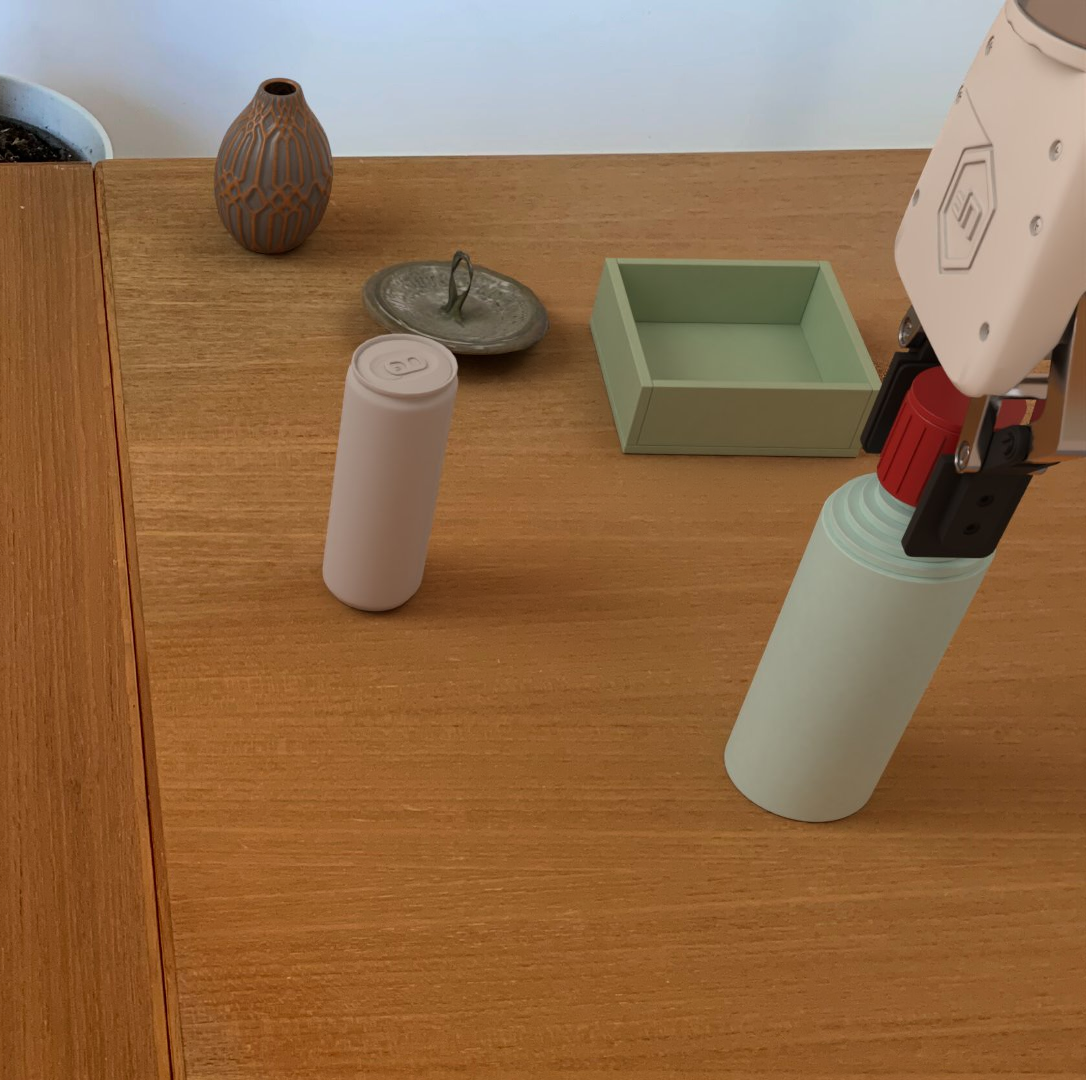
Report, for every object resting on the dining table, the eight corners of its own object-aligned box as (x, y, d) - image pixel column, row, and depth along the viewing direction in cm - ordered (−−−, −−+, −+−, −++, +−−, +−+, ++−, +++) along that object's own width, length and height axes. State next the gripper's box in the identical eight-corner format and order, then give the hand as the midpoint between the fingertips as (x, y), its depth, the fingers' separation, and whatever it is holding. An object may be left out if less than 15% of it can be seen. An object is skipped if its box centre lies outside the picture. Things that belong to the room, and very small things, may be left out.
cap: (999, 515, 61) (1042, 430, 58) (889, 513, 61) (927, 428, 58) (969, 449, 64) (1009, 365, 61) (863, 447, 64) (898, 363, 61)
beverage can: (303, 567, 83) (328, 346, 73) (390, 542, 84) (425, 321, 74) (350, 627, 80) (382, 406, 70) (438, 601, 81) (482, 379, 72)
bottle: (853, 719, 76) (1025, 362, 62) (889, 824, 72) (1081, 468, 58) (711, 717, 76) (849, 359, 62) (739, 821, 72) (894, 465, 58)
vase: (268, 280, 98) (279, 129, 92) (187, 234, 102) (193, 84, 95) (350, 239, 101) (367, 89, 94) (269, 195, 104) (280, 47, 97)
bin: (805, 327, 96) (829, 260, 92) (857, 457, 88) (885, 390, 85) (589, 323, 96) (605, 257, 93) (622, 453, 88) (641, 386, 85)
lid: (340, 383, 95) (349, 316, 90) (375, 252, 98) (387, 182, 94) (527, 418, 93) (547, 353, 89) (556, 285, 97) (576, 216, 92)
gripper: (949, -141, 54) (772, 367, 68) (1130, 118, 44) (876, 653, 58) (1187, -138, 54) (959, 370, 68) (1425, 122, 43) (1097, 657, 58)
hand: (923, 495), depth 63 cm, fingers open, 5 cm apart
